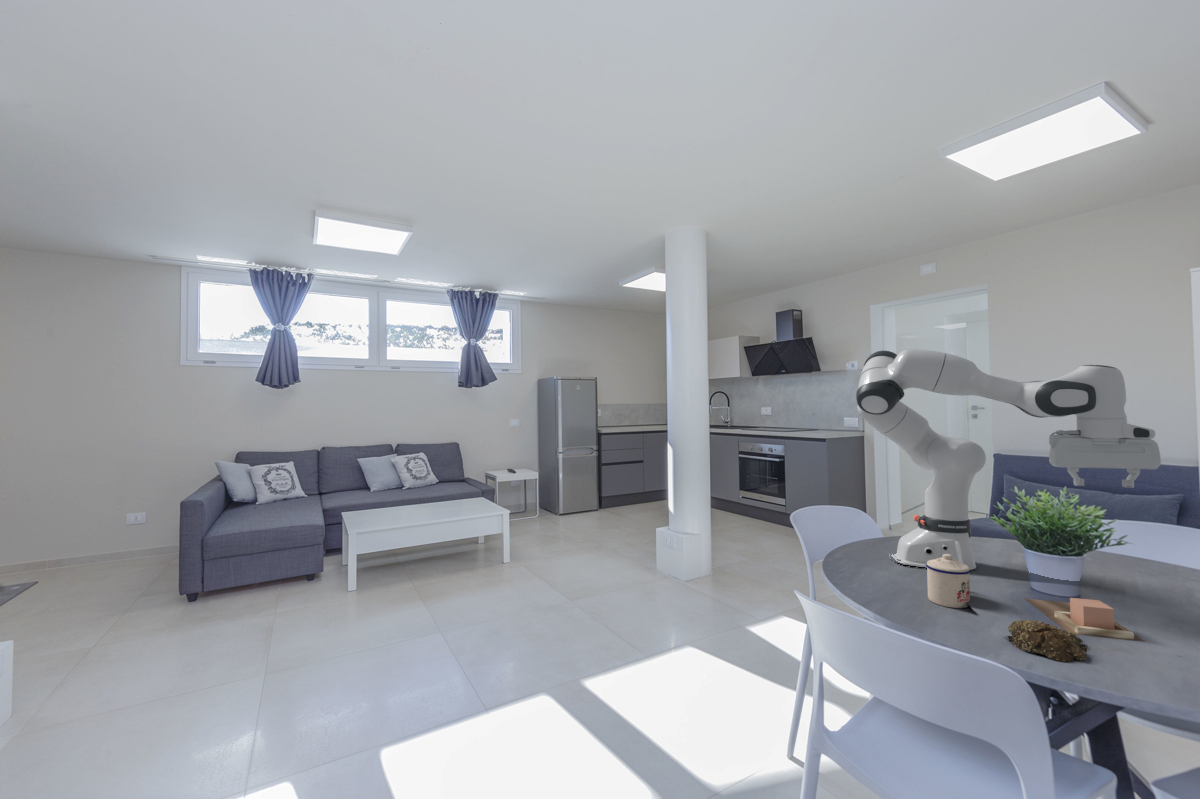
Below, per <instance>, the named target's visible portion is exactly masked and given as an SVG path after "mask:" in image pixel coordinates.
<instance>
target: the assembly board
mask: <svg viewBox="0 0 1200 799" xmlns="http://www.w3.org/2000/svg"><path fill="white" fill-rule="evenodd" d="M1024 600H1025V601H1026V602H1027V603H1029V604H1030V605H1031V606H1032V607H1034V608H1036V610H1039V612H1041V613H1042V614H1044V615H1045V616H1046V617H1048V618H1049V619H1050V620H1051V621H1052V622H1054V623H1056V624H1057V625H1058V626H1059V627H1060V628H1061V629H1062V630H1065V631H1069V632H1072V633H1074V634H1075V635H1079V636H1090V637H1096V638H1097V637H1099V638H1106V639H1107V638H1108V639H1117V640H1125V641H1127V640H1128V641H1135V642H1144V643H1145V642H1146V641H1145V640H1144V639H1142V638H1141V637H1139V636H1138V635H1136V634H1135V633H1134V632H1132V631H1131V630H1129V629H1128V628H1126V627H1125V626H1123V625H1121V624H1120V623H1118V622H1116V620H1114V627H1115V630H1114V629H1105V628H1095V627H1085V626H1080V625H1079V624H1077V623H1076V622H1074V621H1073V620H1072V619H1071V618H1070V602H1065V601H1052V600H1043V599H1034V598H1033V599H1032V598H1024Z"/></svg>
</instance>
